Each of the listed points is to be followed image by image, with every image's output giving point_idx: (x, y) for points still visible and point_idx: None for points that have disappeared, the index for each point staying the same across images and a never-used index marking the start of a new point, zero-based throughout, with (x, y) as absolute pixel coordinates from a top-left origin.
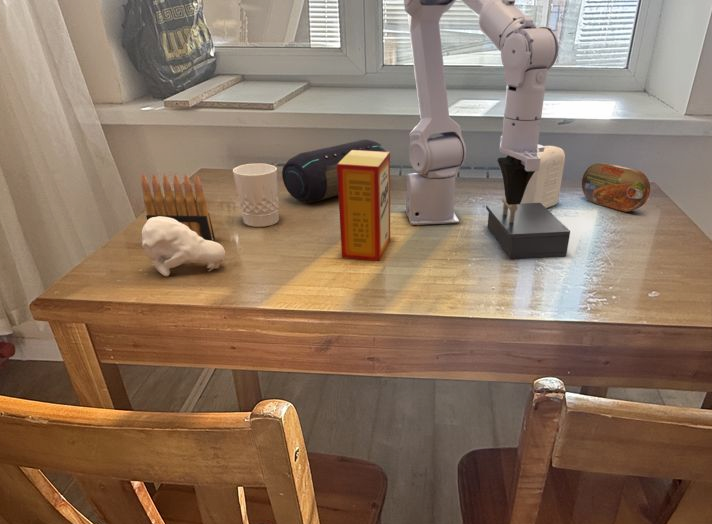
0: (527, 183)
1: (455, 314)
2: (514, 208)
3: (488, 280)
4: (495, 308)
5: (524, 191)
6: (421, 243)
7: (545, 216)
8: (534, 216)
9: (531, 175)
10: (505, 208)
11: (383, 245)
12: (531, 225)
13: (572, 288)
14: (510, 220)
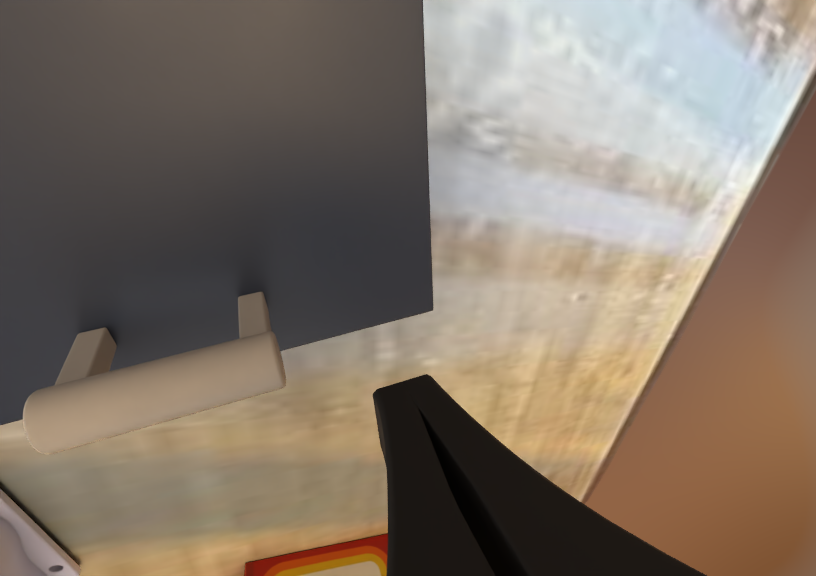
0: (556, 487)
1: (651, 362)
2: (279, 353)
3: (534, 309)
4: (663, 291)
5: (488, 433)
6: (260, 499)
7: (40, 24)
8: (78, 136)
9: (662, 556)
10: (103, 369)
11: (348, 564)
12: (303, 191)
13: (660, 39)
14: (268, 317)
